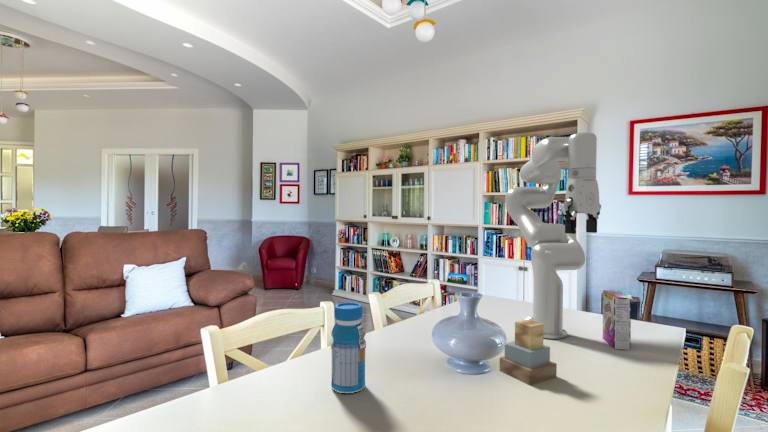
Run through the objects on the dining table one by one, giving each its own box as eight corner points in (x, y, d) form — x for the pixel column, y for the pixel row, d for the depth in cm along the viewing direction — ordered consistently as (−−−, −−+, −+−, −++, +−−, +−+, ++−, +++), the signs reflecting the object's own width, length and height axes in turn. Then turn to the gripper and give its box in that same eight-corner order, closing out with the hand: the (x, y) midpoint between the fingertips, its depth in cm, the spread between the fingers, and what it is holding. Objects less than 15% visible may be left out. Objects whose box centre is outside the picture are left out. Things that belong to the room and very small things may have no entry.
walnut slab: (499, 372, 108) (499, 357, 108) (525, 365, 113) (525, 351, 113) (529, 387, 99) (529, 371, 99) (556, 378, 104) (556, 363, 104)
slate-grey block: (504, 358, 107) (504, 343, 107) (524, 352, 112) (524, 338, 112) (530, 368, 101) (530, 352, 101) (549, 362, 105) (549, 346, 105)
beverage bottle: (338, 398, 92) (338, 311, 92) (325, 384, 99) (326, 303, 99) (371, 390, 96) (371, 307, 95) (357, 377, 103) (357, 299, 103)
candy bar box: (601, 338, 135) (602, 289, 135) (617, 339, 134) (618, 290, 134) (613, 350, 124) (614, 297, 124) (631, 351, 123) (632, 297, 123)
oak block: (514, 344, 107) (515, 321, 107) (527, 341, 109) (527, 319, 109) (530, 350, 103) (530, 326, 102) (543, 346, 105) (543, 323, 105)
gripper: (574, 173, 112) (573, 234, 113) (611, 175, 121) (611, 232, 121) (551, 175, 119) (550, 233, 119) (588, 177, 127) (587, 231, 127)
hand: (581, 232), depth 120 cm, fingers open, 9 cm apart
